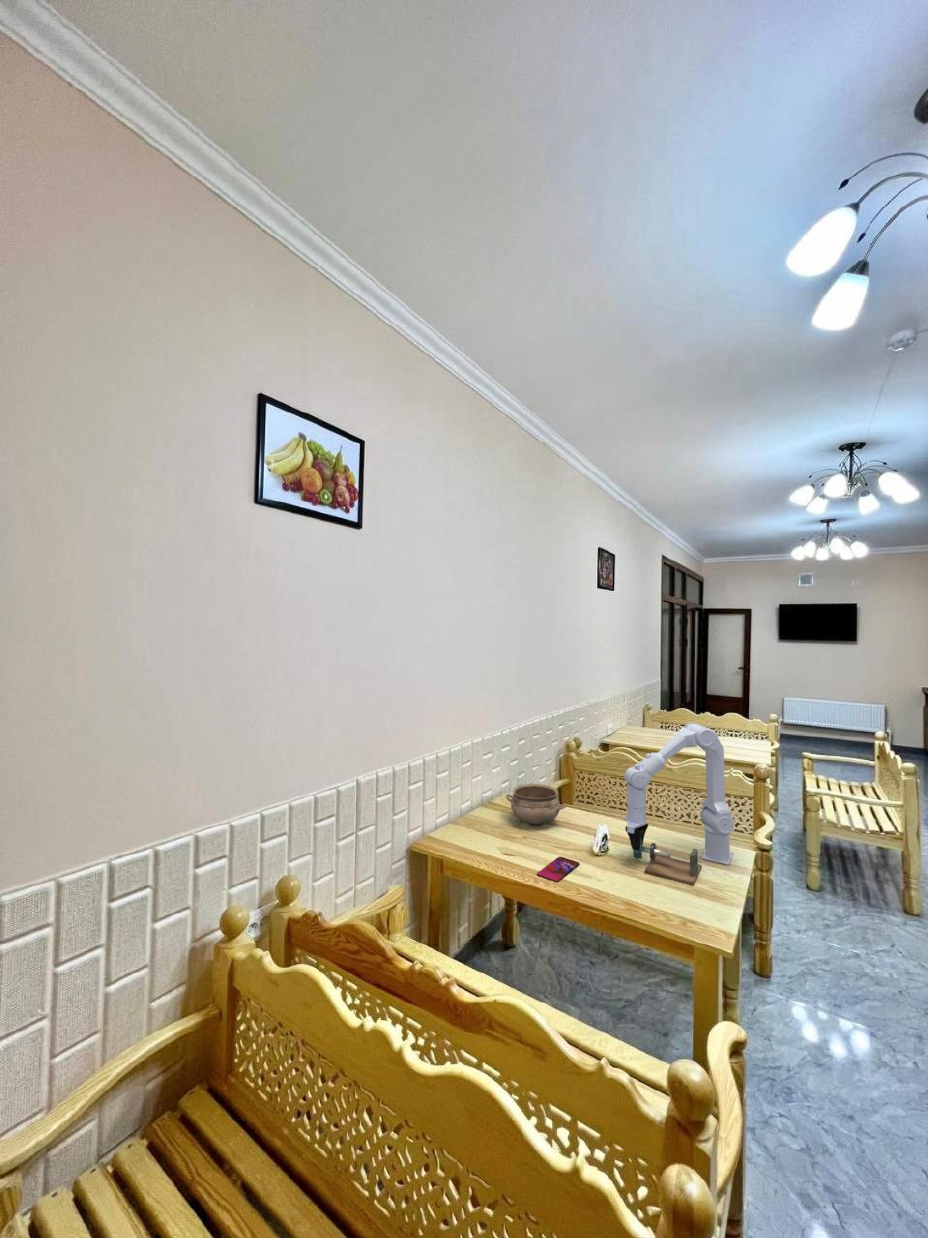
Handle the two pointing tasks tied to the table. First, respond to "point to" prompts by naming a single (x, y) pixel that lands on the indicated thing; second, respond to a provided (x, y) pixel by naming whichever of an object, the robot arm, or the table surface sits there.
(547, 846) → the table surface
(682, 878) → the eye stand
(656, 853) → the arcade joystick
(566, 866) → the smartphone
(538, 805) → the cooking pot
